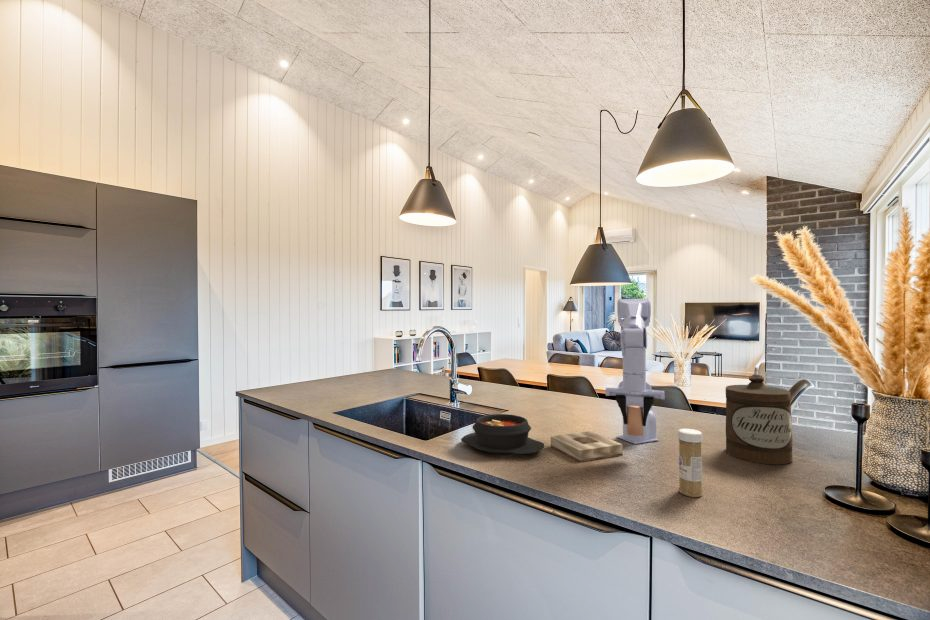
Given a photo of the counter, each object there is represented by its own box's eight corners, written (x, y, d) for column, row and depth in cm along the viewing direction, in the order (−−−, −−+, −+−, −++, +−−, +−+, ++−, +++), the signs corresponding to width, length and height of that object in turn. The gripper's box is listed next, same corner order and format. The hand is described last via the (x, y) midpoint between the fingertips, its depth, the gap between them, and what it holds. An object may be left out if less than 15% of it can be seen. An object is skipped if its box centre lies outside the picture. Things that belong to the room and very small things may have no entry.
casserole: (554, 447, 122) (554, 418, 122) (527, 466, 106) (526, 433, 106) (481, 434, 136) (481, 408, 136) (448, 449, 120) (447, 420, 120)
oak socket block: (589, 441, 127) (589, 431, 127) (622, 455, 114) (622, 444, 114) (550, 446, 122) (550, 436, 122) (580, 461, 109) (580, 450, 109)
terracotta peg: (635, 430, 113) (634, 405, 114) (646, 434, 110) (646, 408, 110) (623, 432, 112) (623, 406, 112) (634, 436, 108) (634, 409, 108)
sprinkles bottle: (674, 489, 92) (673, 428, 92) (693, 488, 92) (693, 427, 92) (687, 498, 87) (686, 434, 87) (708, 497, 87) (707, 433, 88)
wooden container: (736, 462, 109) (734, 377, 109) (719, 445, 123) (718, 370, 123) (803, 467, 104) (802, 379, 105) (778, 449, 118) (777, 372, 119)
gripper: (604, 373, 110) (604, 425, 110) (664, 376, 105) (665, 430, 104) (606, 370, 117) (607, 419, 117) (663, 372, 111) (664, 424, 111)
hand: (634, 424), depth 111 cm, fingers closed on terracotta peg, 4 cm apart
